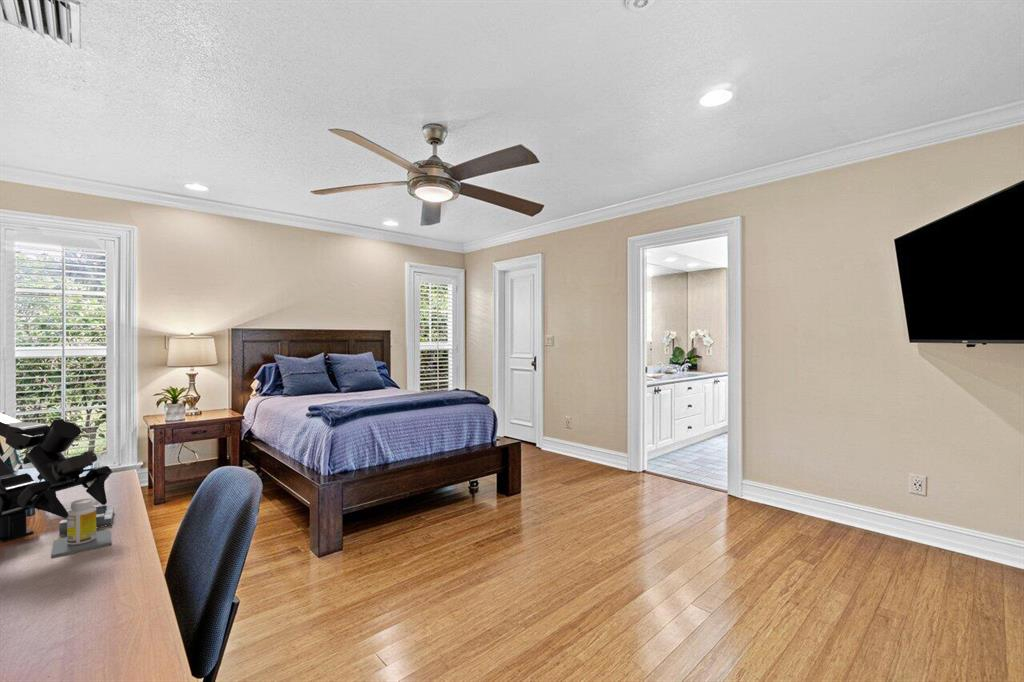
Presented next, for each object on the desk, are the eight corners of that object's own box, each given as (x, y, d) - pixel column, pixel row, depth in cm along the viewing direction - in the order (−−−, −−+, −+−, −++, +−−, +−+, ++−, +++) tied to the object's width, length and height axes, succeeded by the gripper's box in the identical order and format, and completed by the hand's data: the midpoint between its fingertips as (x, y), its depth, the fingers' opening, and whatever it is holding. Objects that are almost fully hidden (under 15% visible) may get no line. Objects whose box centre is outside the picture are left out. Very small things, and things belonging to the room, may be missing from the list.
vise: (110, 530, 130) (110, 519, 130) (56, 540, 124) (56, 528, 124) (113, 512, 144) (113, 502, 144) (65, 520, 137) (65, 509, 137)
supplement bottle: (100, 535, 125) (100, 496, 125) (90, 544, 120) (90, 503, 120) (73, 538, 123) (73, 498, 123) (62, 547, 118) (62, 506, 118)
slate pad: (53, 542, 122) (53, 540, 122) (109, 531, 129) (110, 529, 129) (51, 557, 114) (51, 555, 114) (111, 544, 121) (111, 542, 121)
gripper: (26, 451, 113) (64, 501, 111) (106, 435, 131) (140, 478, 129) (0, 482, 115) (37, 532, 113) (83, 463, 133) (116, 505, 131)
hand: (86, 510), depth 121 cm, fingers open, 9 cm apart
